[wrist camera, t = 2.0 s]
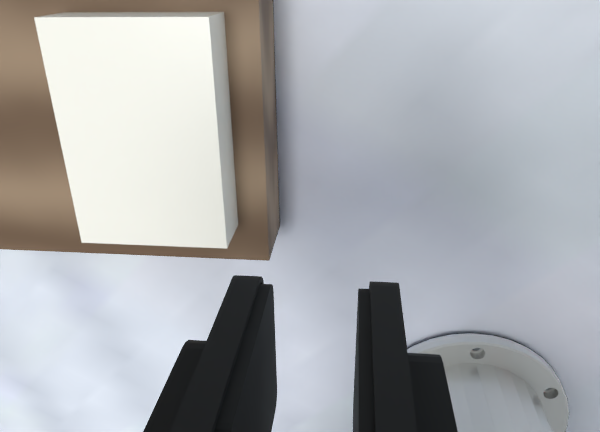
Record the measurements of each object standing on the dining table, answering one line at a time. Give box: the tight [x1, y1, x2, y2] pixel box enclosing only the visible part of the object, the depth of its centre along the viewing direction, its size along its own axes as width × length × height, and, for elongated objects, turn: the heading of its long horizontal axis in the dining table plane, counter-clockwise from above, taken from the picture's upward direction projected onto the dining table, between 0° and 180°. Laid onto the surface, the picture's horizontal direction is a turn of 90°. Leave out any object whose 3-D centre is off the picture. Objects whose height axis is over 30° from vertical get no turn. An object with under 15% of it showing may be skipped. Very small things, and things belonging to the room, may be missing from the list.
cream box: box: [34, 12, 238, 249], centre depth 24 cm, size 10×7×2 cm
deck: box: [0, 0, 280, 260], centre depth 27 cm, size 14×16×4 cm
